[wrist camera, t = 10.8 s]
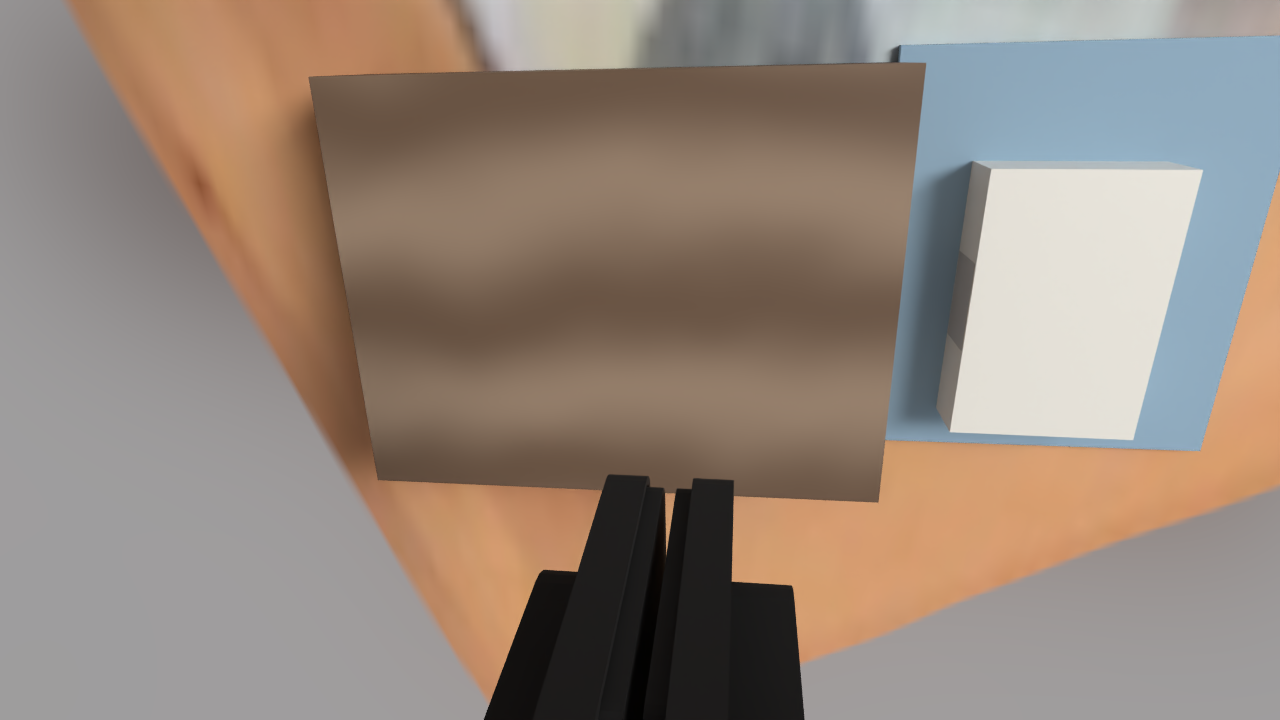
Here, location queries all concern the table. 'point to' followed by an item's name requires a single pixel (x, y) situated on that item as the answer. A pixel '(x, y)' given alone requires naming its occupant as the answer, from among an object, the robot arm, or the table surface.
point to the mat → (1095, 131)
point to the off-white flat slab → (1062, 295)
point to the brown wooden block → (626, 271)
